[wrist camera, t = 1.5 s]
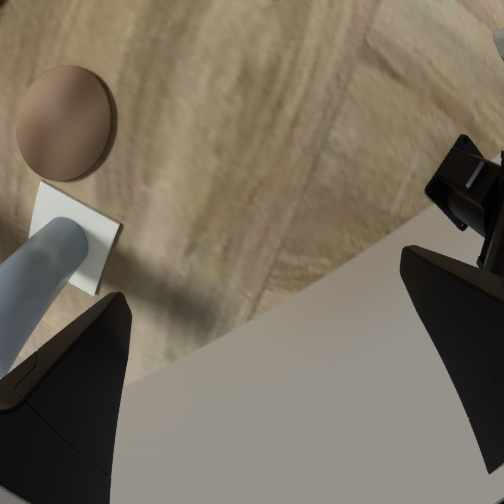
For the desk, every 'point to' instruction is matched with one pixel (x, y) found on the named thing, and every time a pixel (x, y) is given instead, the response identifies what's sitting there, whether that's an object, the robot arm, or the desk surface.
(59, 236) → the grey-blue cylinder
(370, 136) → the desk surface
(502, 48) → the power adapter
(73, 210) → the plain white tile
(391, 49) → the desk surface
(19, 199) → the desk surface
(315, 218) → the desk surface
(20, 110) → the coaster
